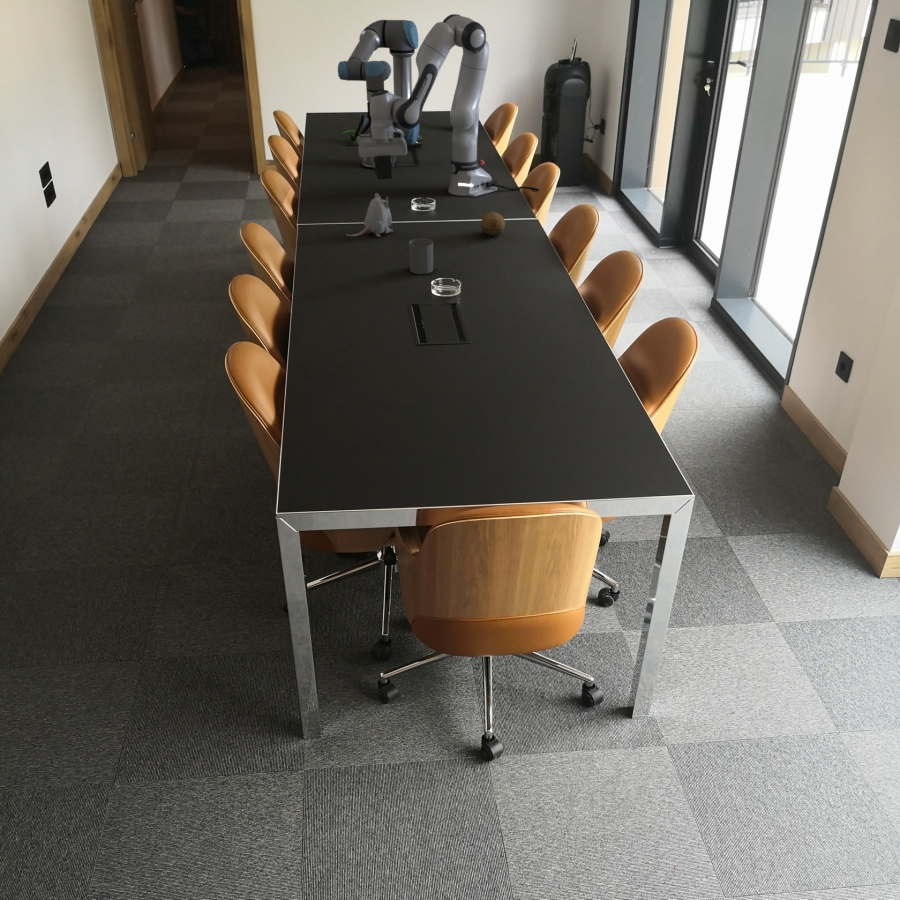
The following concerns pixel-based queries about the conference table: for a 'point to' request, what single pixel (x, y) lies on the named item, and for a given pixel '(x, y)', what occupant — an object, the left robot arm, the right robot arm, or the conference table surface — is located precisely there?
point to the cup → (421, 256)
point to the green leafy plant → (351, 137)
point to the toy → (377, 217)
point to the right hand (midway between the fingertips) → (383, 167)
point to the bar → (383, 167)
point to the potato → (492, 223)
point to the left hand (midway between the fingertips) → (378, 152)
